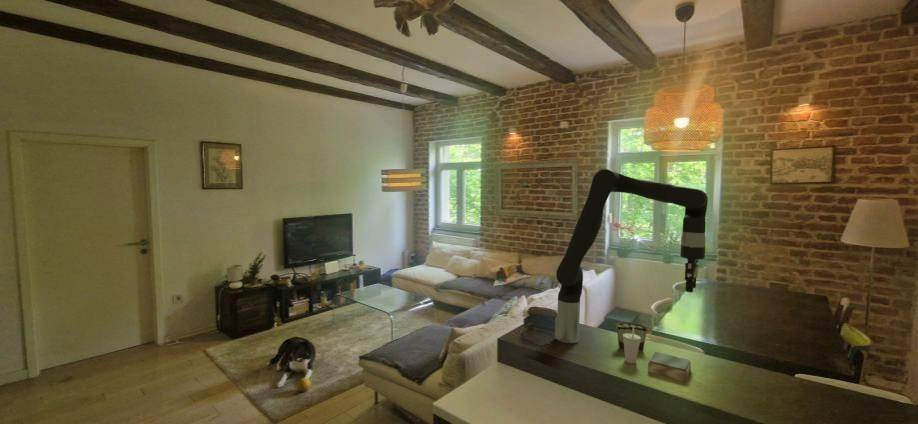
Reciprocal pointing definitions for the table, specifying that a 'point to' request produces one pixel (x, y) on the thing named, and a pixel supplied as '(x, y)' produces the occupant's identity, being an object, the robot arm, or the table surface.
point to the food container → (627, 328)
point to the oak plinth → (670, 366)
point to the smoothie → (631, 346)
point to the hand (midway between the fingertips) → (690, 289)
